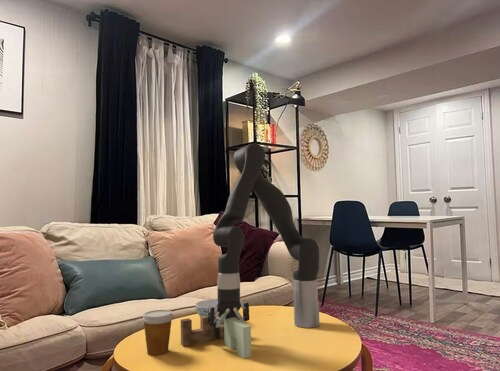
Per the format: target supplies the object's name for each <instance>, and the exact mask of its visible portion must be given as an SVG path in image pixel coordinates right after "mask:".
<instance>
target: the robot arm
mask: <svg viewBox="0 0 500 371" xmlns="http://www.w3.org/2000/svg"><path fill="white" fill-rule="evenodd" d="M265 161H266V152H265V150H264V148H263V147H262V145H260V144H259V143H255V142H254V143H253V142H252V143H249V144H247V145H245V146H243V147H240V148H239V149H237V150H235V152H234V153H233V163H234V164H235V167H236V169H237V171H238V172H240V174H241V175H240V177H239V178H238V180H237V182H236V184H235V186H234V187H233V188H232V190H231V192H230V193H229V196H228V199H227V203H226V206H225V210H224V212H223V214H222V215H221V217H220V219H219V220H218V222H217V224H216V226H215V228H214V229H213V233H212V240H213V243H214V244H215V245H216V246H217V247H223V248H224V247H225V248H228V249H227V251H226V253H224V254H221V255H219V256H218V257H217V258H218V259H217V261H218V262H217V279H216V280H217V283H216V286H217V288H216V289H217V292H216V293H217V296H216V297H217V299H218V304H217V306H214V307H212V306H209V307H208V325H210V326H211V327H214V337H215V338H216V339H217V340H216V341H218V339H220V328H219V326H220V324H221V322H223V323H224V321H223V320H224V319H225V318H226V319H227V318H230V317H231V318H233V317H236V318H237V319H238V320H240V321H242V322H244V323H246V322H247V321H250V304H249V302H246V301H242V302H241V278H240V277H241V276H240V257H241V252H242V249H243V245H244V241H245V236H244V232H243V229H242V228H241V227H240V226H237V225H236V224H238V223H241V222H243V220H244V218H245V216H246V212H247V208H248V203H249V200H250V197H251V195H252V194H251V193H252V192H253V193H254V194H255V195H256V197H257V200H259V202H260V204H261V206H262V207H263V209H264V211H265V212H266V214H267V215H268V217H269V219H270V220H271V221H272V223H273V225H274V227H275V229H276V230H277V231H278V233H279V235H280V237H281V238H282V240H283V243H284V245H285V247H286V249H287V251H288V254H289V255H290V257H291V258H292V259H294V260H296V261H297V262H298V267H297V269H296V270H295V271H293V274H292V280H293V285H292V286H293V313H294V314H293V317H294V318H293V320H294V326H297V327H298V328H305V329H307V328H308V329H309V328H316V327H320V301H319V298H318V297H319V295H318V292H319V291H318V274H319V272H320V271H319V270H320V248H319V245H318V243H317V241H316V240H315V239H313V238H310V237H309V238H308V237H304V236H302V235H301V233H300V232H299V230H298V229H297V227H296V225H295V223H294V219H293V218H294V217H293V210H292V207H291V205H290V202H289V201H288V199H287V198H286V196H285V194H284V193H283V191H282V190H281V189H279V187H277V186H276V185H274V184H273V183H272V182H270V181H269V180H267V179H266V178H265V176H264V175H263V174H262V173H261V170H262V169H263V165H264V164H265ZM241 309H242V314H241V313H240V310H241ZM216 310H218V312H219V313H218V315H217V316H216V319H215V321H214V314H215V313H216ZM221 325H222V324H221ZM220 340H221V339H220Z"/></svg>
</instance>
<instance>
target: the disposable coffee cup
mask: <svg viewBox="0 0 500 371" xmlns="http://www.w3.org/2000/svg"><path fill="white" fill-rule="evenodd" d="M173 318H174V315H173V312H172V310H169V309H154V310H153V309H152V310H149V311H147V312H144V313H143V317H142V322H143V324H144V325H143V327H144V334H145V343H146V344H145V345H146V351H147V352H146V353H147V354H148V356H151V357H152V356H153V357H155V356H156V357H157V356H162V355H163V356H164V355H165V354H167V353H168V352H169V347H170V346H169V344H170V338H171V336H170V335H171V327H172V320H173Z"/></svg>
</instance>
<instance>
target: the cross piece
mask: <svg viewBox="0 0 500 371" xmlns="http://www.w3.org/2000/svg"><path fill="white" fill-rule="evenodd" d="M223 325H224V339H223V341H224V346H226V347H227V348H229V349H230V350H233V349H236V350H235V351H236V354H237V355H238V356H240V357H241V358H242V359H249V358H252V338H251V337H252V335H251V334H252V332H251V325H250V324H247V323H246V322H245V323H244V322H242V321H240V320H238V319H236V318H234V317H233V318H231V317H230V318H227V319H226V318H225V319H224V321H223Z"/></svg>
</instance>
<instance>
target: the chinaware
mask: <svg viewBox="0 0 500 371" xmlns="http://www.w3.org/2000/svg"><path fill="white" fill-rule="evenodd" d="M217 304H218V298H215V299H214V298H213V299H206V300H205V299H204V300H200V301H198V302H196V303H195V309H196V313H197V314H198V317H199V318H200V317H201V316H207V315H208V307H209V306H212V307H214V306H217ZM218 313H219V312H218V310H216V313H215V314H217V315H218ZM220 325H224V320H223V322H221V324H220Z"/></svg>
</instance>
